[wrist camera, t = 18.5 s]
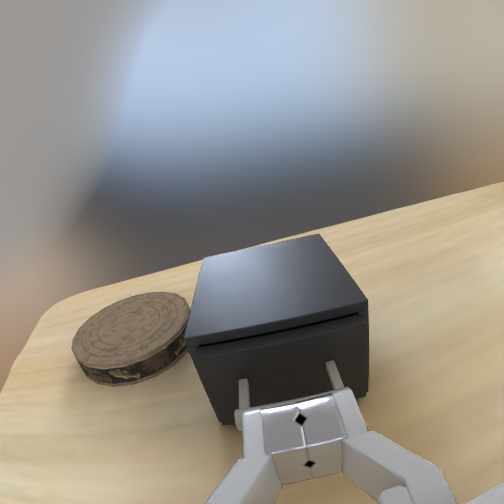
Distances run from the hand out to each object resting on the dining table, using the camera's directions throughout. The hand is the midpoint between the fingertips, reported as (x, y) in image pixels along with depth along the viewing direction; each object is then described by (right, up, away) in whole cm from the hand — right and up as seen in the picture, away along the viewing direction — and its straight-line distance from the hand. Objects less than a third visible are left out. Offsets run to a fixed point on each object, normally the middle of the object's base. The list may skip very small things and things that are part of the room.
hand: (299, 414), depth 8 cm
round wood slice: (-16, -7, +30) cm, 34 cm away
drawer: (+2, -6, +19) cm, 20 cm away
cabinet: (+2, -6, +23) cm, 23 cm away
